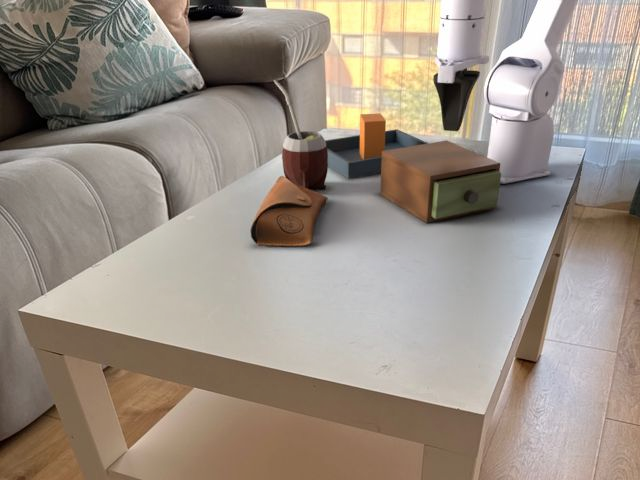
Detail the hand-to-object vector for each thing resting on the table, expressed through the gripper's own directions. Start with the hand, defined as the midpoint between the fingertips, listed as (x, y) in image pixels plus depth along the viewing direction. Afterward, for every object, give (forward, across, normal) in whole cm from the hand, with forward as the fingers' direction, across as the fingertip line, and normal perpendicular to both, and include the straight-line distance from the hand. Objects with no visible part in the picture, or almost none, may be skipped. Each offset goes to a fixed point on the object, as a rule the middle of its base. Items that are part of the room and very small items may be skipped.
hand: (451, 129), depth 91 cm
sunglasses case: (+10, -17, +18) cm, 26 cm away
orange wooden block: (+9, +14, +16) cm, 23 cm away
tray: (+9, +14, +16) cm, 23 cm away
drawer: (+9, -5, -1) cm, 10 cm away
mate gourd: (+10, -3, +22) cm, 24 cm away
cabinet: (+9, -3, +1) cm, 10 cm away
